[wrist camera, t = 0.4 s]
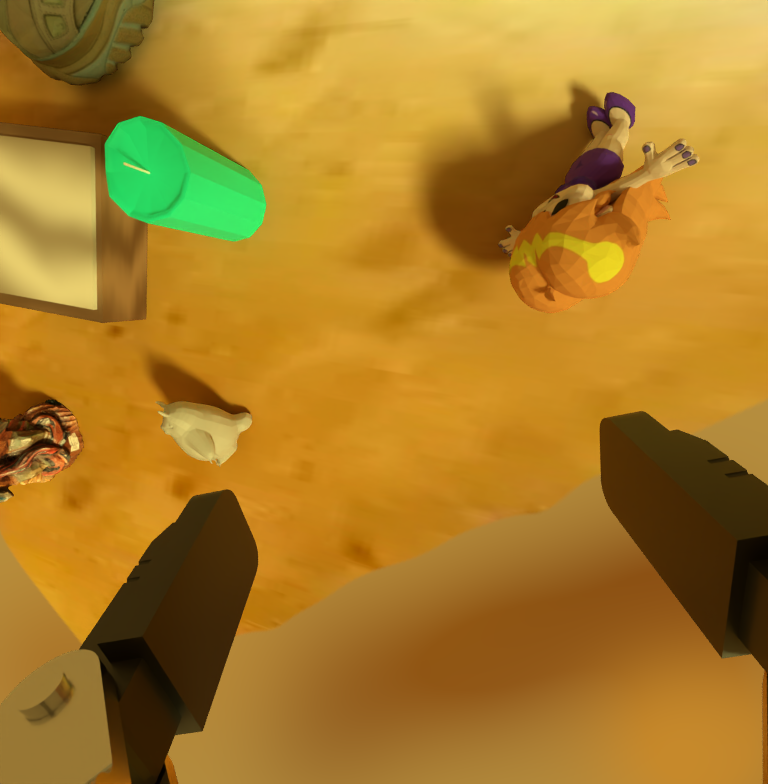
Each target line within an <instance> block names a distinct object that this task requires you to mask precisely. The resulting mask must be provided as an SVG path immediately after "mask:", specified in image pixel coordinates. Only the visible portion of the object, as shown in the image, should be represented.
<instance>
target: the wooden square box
mask: <svg viewBox="0 0 768 784" xmlns="http://www.w3.org/2000/svg"><path fill="white" fill-rule="evenodd" d="M108 138H109V137H106V136H104V135H102V134H96V133H88V132H79V131H71V130H62V129H54V128H45V127H36V126H28V125H19V124H11V123H2V122H0V303H1V304H6V305H11V306H17V307H22V308H27V309H32V310H38V311H43V312H48V313H53V314H59V315H64V316H69V317H75V318H80V319H85V320H90V321H96V322H101V323H107V322H119V321H131V320H143V319H146V290H147V223H146V222H143V221H140V220H138V219H135V218H132V217H130V216H128V215H127V214H126V213H125V212H124V211H123V210H122V209H121V208H120V207H119V206H118V205H117V204H116V203H115V202H114V201H113V200H112V199H111V198H110V197H109V192H108V185H107V178H106V169H105V142H106V141H107V139H108Z"/></svg>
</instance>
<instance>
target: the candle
mask: <svg viewBox="0 0 768 784" xmlns="http://www.w3.org/2000/svg"><path fill="white" fill-rule="evenodd" d="M105 169H106V178H107V185H108V192H109V197H110V198H111V199H112V200H113V201H114V202H115V203H116V204H117V205H118V206H119V207H120V208H121V209H122V210H123V211H124V212H125V213H126V214H127V215H128V216H130V217H132V218H135V219H138V220H140V221H143V222H146V223H149V224H154V225H159V226H163V227H168V228H173V229H177V230H182V231H187V232H191V233H196V234H201V235H205V236H210V237H215V238H220V239H224V240H229V241H238V240H242V239H245V238H249V237H251V236H252V235H253V233H254V232H255V231H256V230H257V229H258V228H259V227H260V226H261V225H262V222H263V218H264V213H265V209H266V201H265V197H264V193H263V189H262V185H261V184H260V183H259V181H258V180H257V179H256V178H255V177H254V176H253V174H252V173H251V172H250V171H249V170H247V169H246V168H244V167H242V166H240V165H238V164H236V163H235V162H233V161H231V160H229V159H227V158H226V157H224V156H222V155H220V154H218V153H216V152H215V151H213V150H211V149H209V148H207V147H206V146H204V145H202V144H200V143H198V142H196V141H195V140H193V139H191V138H189V137H187V136H186V135H184V134H182V133H180V132H178V131H176V130H175V129H173V128H171V127H169V126H167V125H166V124H164V123H162V122H159V121H156V120H152V119H149V118H146V117H142V116H138V117H135V118H132V119H129V120H126V121H123V122H120V123H117V125H116V127H115V128H114V130H113V131H112V133H111V135H110V136H109V138H108V139H107V141H106V142H105Z"/></svg>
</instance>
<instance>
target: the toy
mask: <svg viewBox="0 0 768 784" xmlns="http://www.w3.org/2000/svg"><path fill="white" fill-rule="evenodd" d="M604 108H605V110H603V109H602V108H599V107H595V106H590V107H589V108H588V111H587V124H588V128H589V130H590V132H591V134H592V136H593V137H594V140H593V141H592V142H591V144H590V145H589V146H588V148H587V149H586V150H585V151H584V152H583V153H582V155H581V156H580V157H579V158H578V159H577V160H576V161H575V162H574V163H573V165H572V166H571V168H570V170H569V172H568V173H567V175H566V178H565V184H564V185H561V186H560V187H559V188H558V189H557V191H556V192H555V194H554V195H553V196H552V197H550V198H549V199H548V200H546V201H545V202H543V203H542V204H541V205H539V206H538V207H537V208H536V209H535V210H534V211H533V214H532V219H531V220H530V221H529V223H528V224H527V225H526V227H525V228H524V229H523V230H522V231H518V230H515V229H514V227H513V226H512V225H509V226H507V227H506V231H507V232H509V233H510V235H511V237H509V238H508V239H504V240H501V241H500V242H499V244H498V246H499V247H500V248H503V249H502V251H503V252H504V253H507V252H508V256H510V257H511V259H510V265H509V275H510V281H511V284H512V286H513V288H514V290H515V291H516V293H517V295H518V296H519V298H520V299H521V300H522V301H523V302H524V303H525V304H527V305H528V306H530V307H531V308H533V309H536V310H538V311H541V312H547V313H555V312H560V311H563V310H567V309H569V308H570V307H572V306H573V305H575V304H577V303H578V302H580V301H581V300H582V299H592V298H598V297H602V296H606V295H608V294H610V293H612V292H614V291H616V290H617V289H618V288H619V287H620V286H621V285H623V284H624V283H625V281H626V280H627V279H628V278H629V276H630V274H631V272H632V270H633V268H634V265H635V263H636V261H637V259H638V257H639V253H640V250H641V247H642V244H643V241H644V239H645V236H646V234H647V223H648V222H649V221H651V220H655V219H669V220H671V219H670V216H669V214H668V212H667V210H666V208H665V207H664V206H663V205H662V204H661V203H660V202H659V201H658V200H661V201H665V202H668V200H667V197H666V194H665V191H664V189H663V186H662V184H661V181H662V179H663V177H666V176H668V175H670V174H672V173H675V172H677V171H679V170H682V169H684V168H687V167H690V166H693V165H696V164H697V163H698V161H699V157H698V156H697V155H696V154H693V152H694V149H693V147H691V146H686V144H687V142H686V141H685V139H679V140H677V141H676V142H675V143H673V144H672V145H671V146H670V147H668V148H667V149H666V150H664V151H662V152H661V153H659V154H657V152H656V150H655V144H654V143H653V142H647V143H645V144H644V145H643V147H642V150H643V152H644V154H645V163H644V165H643V166H641V167H640V168H638V169H637V170H636V171H634V172H633V173H631V174H630V175H627V176H624V177H622V178H620V177H621V174H622V171H623V168H624V165H623V163H622V162H623V149H624V147H625V145H626V143H627V141H628V137H629V129H630V128H631V127H632V126H633V124H634V122H635V106H634V105H633V104H632V103H631V102H630V101H629V100H628V99H627V98H625V97H623V96H622V95H620V94H617V93H614V92H610V93H607V94H606V97H605V102H604ZM657 199H658V200H657Z"/></svg>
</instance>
